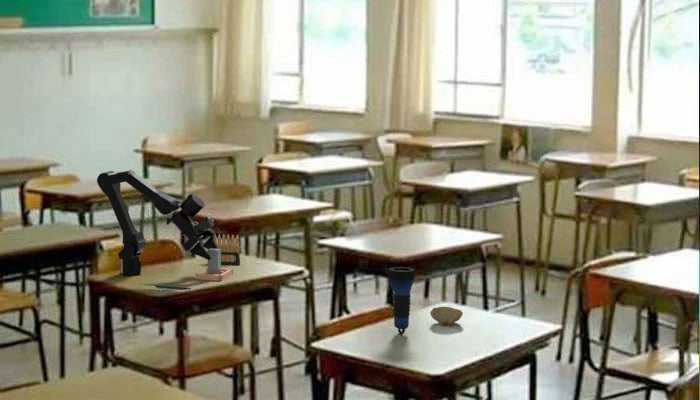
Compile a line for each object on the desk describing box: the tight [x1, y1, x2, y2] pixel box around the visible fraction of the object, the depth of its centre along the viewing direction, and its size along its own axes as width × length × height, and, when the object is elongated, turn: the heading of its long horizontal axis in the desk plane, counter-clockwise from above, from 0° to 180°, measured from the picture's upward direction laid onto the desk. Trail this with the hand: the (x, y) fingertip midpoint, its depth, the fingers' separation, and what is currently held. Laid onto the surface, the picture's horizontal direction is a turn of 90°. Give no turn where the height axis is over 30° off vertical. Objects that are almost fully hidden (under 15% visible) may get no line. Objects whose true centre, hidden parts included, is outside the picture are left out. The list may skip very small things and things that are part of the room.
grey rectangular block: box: [206, 248, 222, 275], centre depth 422 cm, size 4×3×10 cm
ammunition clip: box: [214, 233, 241, 266], centre depth 449 cm, size 11×2×12 cm, turn 84°
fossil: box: [429, 306, 463, 327], centre depth 362 cm, size 9×4×10 cm
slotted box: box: [194, 266, 234, 282], centre depth 423 cm, size 10×12×3 cm
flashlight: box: [387, 266, 416, 335], centre depth 350 cm, size 8×8×20 cm
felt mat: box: [155, 285, 192, 292], centre depth 409 cm, size 11×9×1 cm
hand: (214, 256), depth 421 cm, fingers open, 9 cm apart
